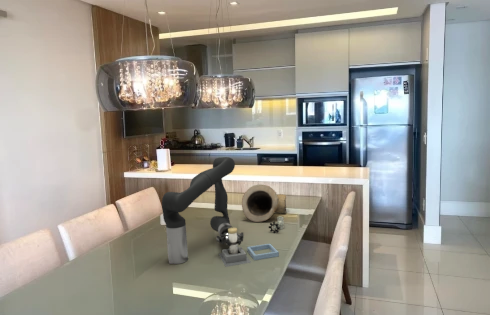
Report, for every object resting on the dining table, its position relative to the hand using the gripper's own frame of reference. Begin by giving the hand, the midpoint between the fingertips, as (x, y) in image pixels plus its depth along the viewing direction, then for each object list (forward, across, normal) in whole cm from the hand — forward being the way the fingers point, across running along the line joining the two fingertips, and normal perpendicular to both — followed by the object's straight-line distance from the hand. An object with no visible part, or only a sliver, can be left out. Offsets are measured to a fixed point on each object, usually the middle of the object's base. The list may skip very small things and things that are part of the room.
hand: (234, 243), depth 170 cm
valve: (-36, +34, +10) cm, 51 cm away
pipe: (-67, +37, +10) cm, 77 cm away
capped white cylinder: (-3, 0, +8) cm, 8 cm away
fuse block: (-3, 0, +10) cm, 10 cm away
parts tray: (-3, +14, +10) cm, 17 cm away
